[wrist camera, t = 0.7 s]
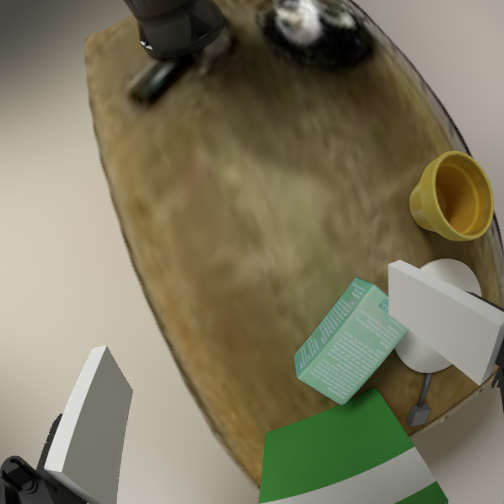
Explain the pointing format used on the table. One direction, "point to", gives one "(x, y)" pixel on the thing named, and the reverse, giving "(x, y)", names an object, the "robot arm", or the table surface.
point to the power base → (419, 351)
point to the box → (349, 342)
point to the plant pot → (453, 198)
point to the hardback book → (346, 459)
